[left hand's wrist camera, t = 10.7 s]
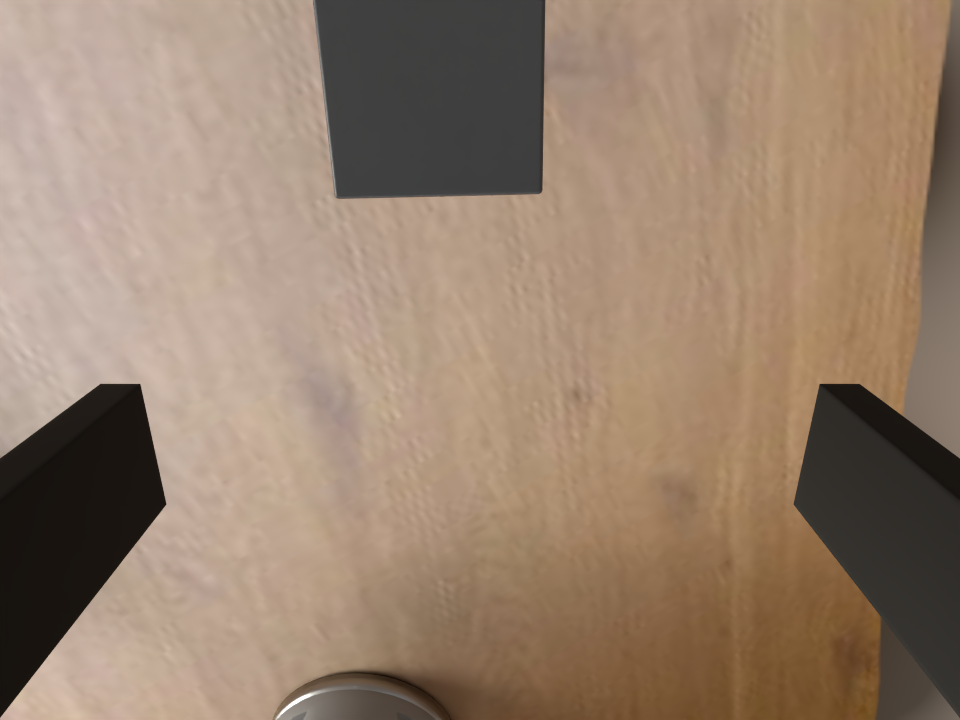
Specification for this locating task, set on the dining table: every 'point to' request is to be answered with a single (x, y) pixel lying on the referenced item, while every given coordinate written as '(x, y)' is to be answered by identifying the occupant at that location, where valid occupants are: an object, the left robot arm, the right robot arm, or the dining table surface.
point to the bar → (433, 96)
